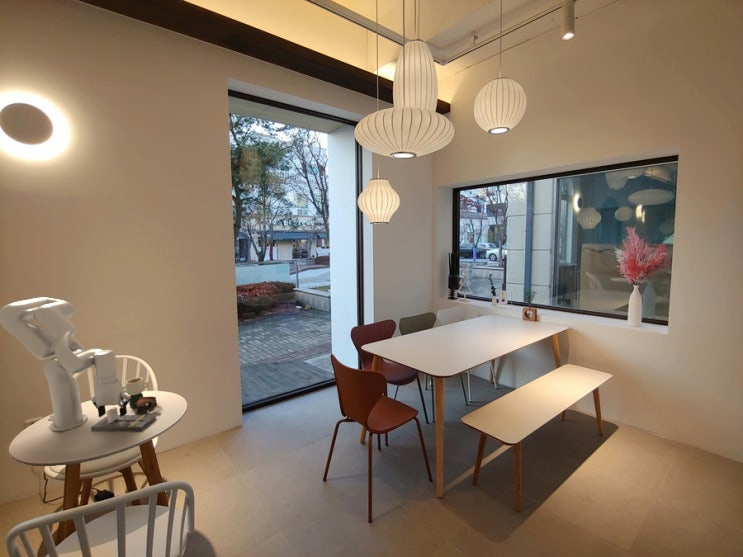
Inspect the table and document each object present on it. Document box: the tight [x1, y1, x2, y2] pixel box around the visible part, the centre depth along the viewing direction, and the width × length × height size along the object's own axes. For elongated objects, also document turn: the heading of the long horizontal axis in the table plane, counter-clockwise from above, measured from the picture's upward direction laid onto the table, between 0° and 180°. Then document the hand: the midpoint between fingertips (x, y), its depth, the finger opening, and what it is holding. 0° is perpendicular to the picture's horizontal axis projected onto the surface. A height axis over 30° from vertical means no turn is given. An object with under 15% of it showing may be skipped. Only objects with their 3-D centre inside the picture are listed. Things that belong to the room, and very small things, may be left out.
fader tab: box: [106, 406, 119, 422], centre depth 156 cm, size 2×4×5 cm, turn 178°
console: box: [90, 414, 157, 432], centre depth 157 cm, size 22×10×2 cm, turn 88°
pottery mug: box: [134, 396, 158, 415], centre depth 169 cm, size 12×10×8 cm
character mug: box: [122, 377, 149, 408], centre depth 174 cm, size 11×7×13 cm, turn 121°
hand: (113, 415), depth 156 cm, fingers open, 9 cm apart
